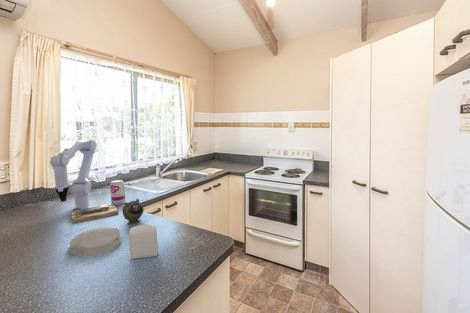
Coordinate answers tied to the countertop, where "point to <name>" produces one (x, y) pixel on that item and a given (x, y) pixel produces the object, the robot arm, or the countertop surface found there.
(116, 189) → the supplement can
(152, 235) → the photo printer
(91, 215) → the latch board
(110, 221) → the countertop surface
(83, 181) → the robot arm
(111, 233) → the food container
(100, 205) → the latch bar
